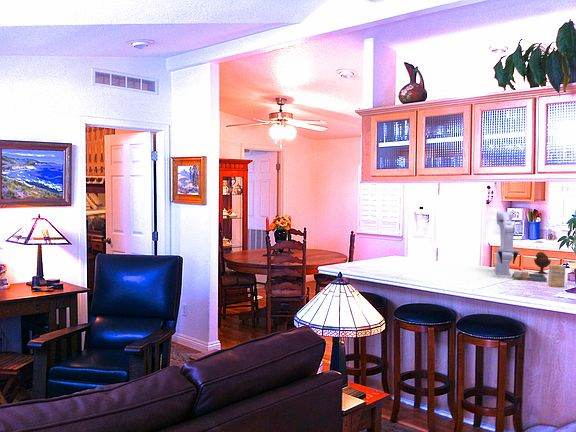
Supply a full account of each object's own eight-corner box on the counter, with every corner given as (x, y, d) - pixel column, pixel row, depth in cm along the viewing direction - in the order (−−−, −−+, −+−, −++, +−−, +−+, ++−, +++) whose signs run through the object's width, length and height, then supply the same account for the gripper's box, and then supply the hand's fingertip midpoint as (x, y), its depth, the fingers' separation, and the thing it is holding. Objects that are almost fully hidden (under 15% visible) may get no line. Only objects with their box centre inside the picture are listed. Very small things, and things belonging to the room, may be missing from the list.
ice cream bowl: (548, 275, 389) (549, 253, 388) (531, 273, 396) (532, 252, 395) (551, 273, 397) (553, 252, 396) (535, 271, 404) (536, 250, 403)
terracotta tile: (521, 275, 371) (521, 272, 371) (521, 274, 375) (521, 271, 375) (528, 276, 370) (528, 272, 370) (527, 275, 374) (527, 271, 374)
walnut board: (514, 279, 368) (514, 276, 368) (512, 276, 382) (512, 273, 381) (530, 280, 365) (530, 277, 365) (528, 277, 379) (528, 274, 379)
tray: (531, 280, 365) (531, 277, 365) (528, 277, 379) (528, 273, 379) (546, 281, 362) (546, 278, 362) (543, 278, 376) (543, 274, 376)
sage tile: (514, 275, 373) (514, 271, 373) (513, 274, 377) (514, 270, 376) (520, 275, 372) (521, 272, 371) (520, 274, 375) (520, 271, 375)
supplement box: (550, 286, 346) (551, 265, 345) (547, 285, 351) (549, 264, 350) (564, 287, 345) (565, 265, 344) (561, 285, 350) (563, 264, 349)
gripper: (497, 243, 373) (496, 263, 374) (520, 244, 369) (519, 264, 369) (496, 242, 380) (495, 262, 380) (519, 243, 375) (518, 263, 376)
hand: (507, 263), depth 375 cm, fingers open, 7 cm apart
